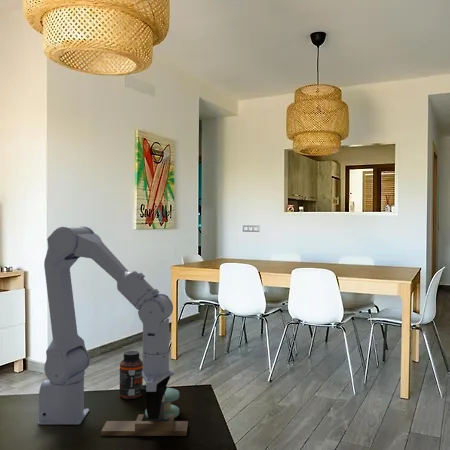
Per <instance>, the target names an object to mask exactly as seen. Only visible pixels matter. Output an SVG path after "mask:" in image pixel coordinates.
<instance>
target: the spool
mask: <svg viewBox="0 0 450 450" xmlns="http://www.w3.org/2000/svg"><path fill="white" fill-rule="evenodd" d="M179 398H180V391H179V390H178V389H176V388H172V387H167V389H166V391H165V401H164V421H167V420H168V416H169V414H174V419H175V418H177V417H179V415H180V408H179V407H178V406H177V405H174V404H172V403H173V402H175V401H177V400H179ZM144 417H145V418H146V419H148V414H147V409H146V408H145V410H144Z"/></svg>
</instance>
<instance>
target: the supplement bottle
mask: <svg viewBox="0 0 450 450" xmlns="http://www.w3.org/2000/svg"><path fill="white" fill-rule="evenodd" d="M142 371H143V360H142V359H141V358H140V352H139V351H138V350H127V351H124V352H123V360H121V361H120V363H119V397H120V398H122V399H124V400H125V399H126V400H135V399H138V398H140V397H142V395H141V393H140V386H141V385H143V383H144V382H143V381H144V378H143V377H142Z"/></svg>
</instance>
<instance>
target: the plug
mask: <svg viewBox="0 0 450 450" xmlns="http://www.w3.org/2000/svg"><path fill="white" fill-rule="evenodd" d="M164 401H165V395H164V396H163V399H162V403H161V410H160V415H159V419H149V418H147V421H164Z"/></svg>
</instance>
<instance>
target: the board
mask: <svg viewBox="0 0 450 450" xmlns="http://www.w3.org/2000/svg"><path fill="white" fill-rule="evenodd" d="M188 426H189V421H188V420H175V418H174V414H169V416H168V420H166V421H148V420H145V413H144V414H138V415H137V417H136V419H135V420H106V422H105V423H104V426H103V427H102V429H101V430H100V432H101V433H100V436H102V437H103V436H104V437H105V436H107V437H109V436H113V437H114V436H117V437H120V436H123V437H127V436H128V437H129V436H130V437H134V436H135V437H136V436H137V437H139V436H140V437H142V436H143V437H144V436H145V437H150V436H151V437H154V436H156V437H157V436H159V437H161V436H162V437H164V436H165V437H170V436H171V437H174V436H175V437H176V436H177V437H179V436H180V437H184V436H185V437H186V436H187V435H188V434H187V433H188V428H189V427H188Z"/></svg>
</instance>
